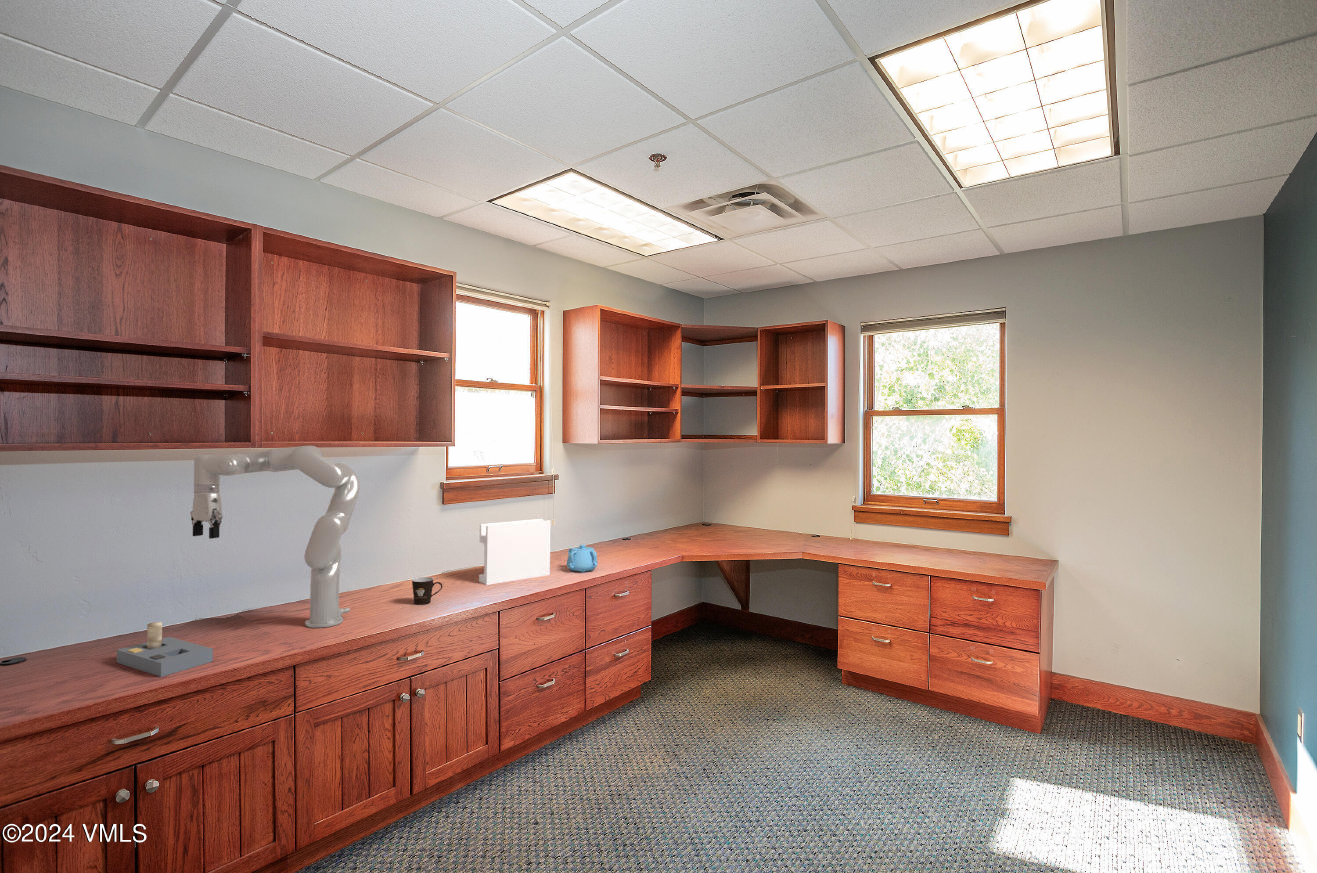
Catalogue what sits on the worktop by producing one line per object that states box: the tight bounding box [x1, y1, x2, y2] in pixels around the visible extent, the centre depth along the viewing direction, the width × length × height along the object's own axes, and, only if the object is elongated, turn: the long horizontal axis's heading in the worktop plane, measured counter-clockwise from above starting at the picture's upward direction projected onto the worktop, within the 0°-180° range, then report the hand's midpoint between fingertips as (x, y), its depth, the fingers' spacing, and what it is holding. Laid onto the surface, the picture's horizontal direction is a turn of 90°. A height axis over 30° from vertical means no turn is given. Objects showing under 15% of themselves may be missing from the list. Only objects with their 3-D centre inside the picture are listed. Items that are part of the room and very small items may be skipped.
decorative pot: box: [566, 544, 599, 573], centre depth 333 cm, size 16×16×14 cm
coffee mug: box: [411, 576, 443, 606], centre depth 264 cm, size 12×9×10 cm
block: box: [478, 518, 552, 586], centre depth 312 cm, size 35×8×28 cm, turn 132°
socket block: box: [116, 636, 214, 678], centre depth 194 cm, size 14×24×4 cm, turn 65°
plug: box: [146, 621, 163, 650], centre depth 196 cm, size 4×4×10 cm
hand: (205, 536), depth 225 cm, fingers open, 9 cm apart
